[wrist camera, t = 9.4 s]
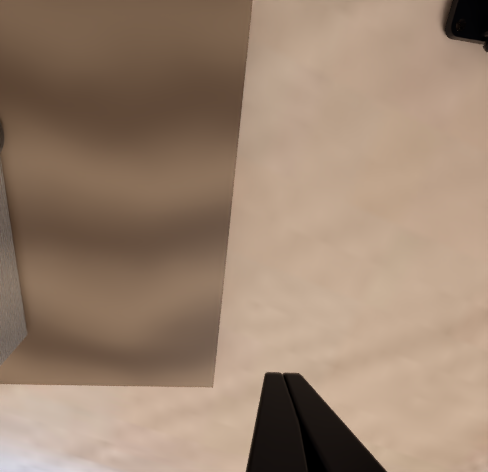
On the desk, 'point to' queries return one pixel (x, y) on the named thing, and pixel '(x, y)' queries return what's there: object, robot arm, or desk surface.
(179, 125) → the board
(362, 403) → the desk surface
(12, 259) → the bar
